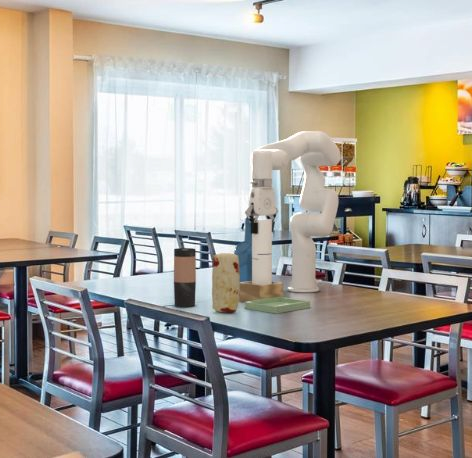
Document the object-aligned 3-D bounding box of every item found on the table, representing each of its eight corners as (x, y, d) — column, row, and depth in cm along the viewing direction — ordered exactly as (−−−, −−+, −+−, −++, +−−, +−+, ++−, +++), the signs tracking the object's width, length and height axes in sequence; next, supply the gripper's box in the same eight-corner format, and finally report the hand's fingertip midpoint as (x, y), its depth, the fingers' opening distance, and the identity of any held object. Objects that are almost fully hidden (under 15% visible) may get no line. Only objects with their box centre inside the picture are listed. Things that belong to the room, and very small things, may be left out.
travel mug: (199, 304, 277) (199, 248, 275) (190, 308, 269) (190, 250, 268) (179, 303, 279) (179, 247, 278) (170, 306, 272) (170, 249, 271)
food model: (208, 312, 260) (208, 253, 259) (216, 309, 266) (217, 251, 265) (235, 314, 257) (236, 254, 255) (243, 311, 263) (243, 252, 262)
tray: (279, 302, 282) (279, 296, 282) (310, 307, 272) (310, 301, 272) (244, 308, 270) (244, 301, 270) (275, 313, 260) (275, 306, 260)
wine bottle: (246, 282, 338) (246, 213, 336) (271, 285, 330) (271, 214, 328) (226, 285, 327) (226, 214, 325) (251, 288, 319) (252, 215, 317)
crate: (260, 298, 293) (260, 279, 293) (283, 301, 285) (283, 282, 285) (238, 301, 285) (238, 282, 284) (261, 305, 277) (261, 285, 276)
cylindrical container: (269, 289, 281) (269, 220, 279) (250, 288, 283) (250, 220, 281) (273, 286, 288) (273, 219, 286) (254, 285, 290) (254, 218, 288)
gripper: (252, 184, 274) (252, 235, 275) (285, 183, 286) (285, 232, 288) (237, 184, 279) (237, 233, 280) (270, 183, 291) (270, 231, 293)
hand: (261, 232), depth 284 cm, fingers closed on cylindrical container, 7 cm apart
